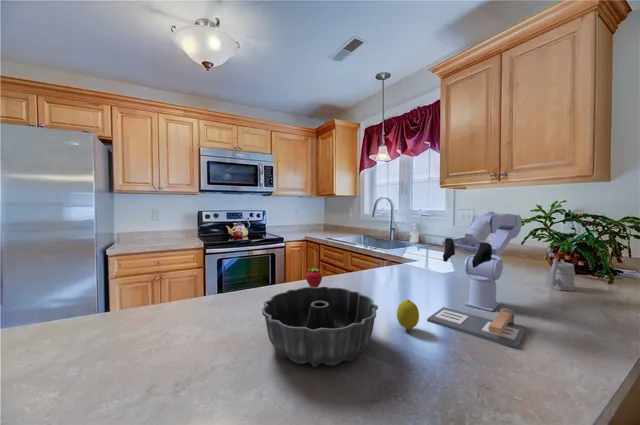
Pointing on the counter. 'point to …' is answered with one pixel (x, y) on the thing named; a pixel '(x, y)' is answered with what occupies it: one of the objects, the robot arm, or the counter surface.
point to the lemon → (407, 314)
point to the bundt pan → (319, 324)
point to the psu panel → (477, 326)
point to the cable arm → (501, 321)
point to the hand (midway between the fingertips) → (458, 261)
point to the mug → (562, 276)
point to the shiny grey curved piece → (511, 321)
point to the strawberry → (313, 277)
